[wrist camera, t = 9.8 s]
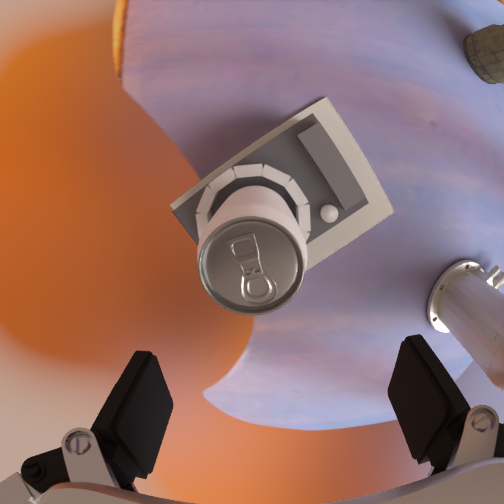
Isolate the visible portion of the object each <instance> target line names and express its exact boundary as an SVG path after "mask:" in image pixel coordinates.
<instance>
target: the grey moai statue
mask: <svg viewBox="0 0 504 504" xmlns="http://www.w3.org/2000/svg"><path fill="white" fill-rule="evenodd" d="M464 50H465V54H466V57H467V60H468V62H469V63H470V65H471V67H472V69H473V70H474V71H475V73H476V74H477V75H478V76H479V77H480V78H481V79H482V80H483V81H485V82H486V83H488V84H496V83H504V25H490V26H488V27H485V28H483V29H480V30H478V31H475V33H474V34H472V35H469V36H467V37H466V38H465V40H464Z"/></svg>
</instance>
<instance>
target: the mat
mask: <svg viewBox="0 0 504 504" xmlns="http://www.w3.org/2000/svg"><path fill="white" fill-rule="evenodd" d="M312 113H313V114H314V115H315V117H316V118H317V120H318V121H319V122H320V123H321V125H322V126H323V127H324V129H325V130H326V132H327V133H328V135H329V136H330V138H331V139H332V141H333V142H334V144H335V146H336V147H337V149H338V150H339V152H340V153H341V155H342V157H343V158H344V160H345V161H346V163H347V165H348V166H349V168H350V170H351V171H352V173H353V175H354V176H355V178H356V180H357V182H358V183H359V185H360V187H361V189H362V190H363V192H364V194H365V196H366V199H367V200H368V202H369V203H368V204H367V205H365V206H364V207H362V208H361V209H359V210H358V211H356V212H355V213H353V214H352V215H350V216H349V217H347V218H346V219H344V220H343V221H341V222H340V223H338V224H337V225H335V226H334V227H332V228H331V229H329V230H328V231H326V232H325V233H323V234H322V235H320V236H319V237H317V238H316V239H314V240H313V241H311V242H310V243H308V244H306V246H307V253H308V260H307V267H306V271H307V270H308V269H310V268H311V267H313V266H314V265H316V264H318V263H319V262H321V261H322V260H324V259H325V258H327V257H328V256H330V255H331V254H333V253H335V252H336V251H338V250H339V249H341V248H342V247H344V246H345V245H347V244H348V243H350V242H351V241H353V240H354V239H356V238H357V237H359V236H360V235H362V234H363V233H365V232H366V231H368V230H369V229H370V228H372V227H373V226H375V225H376V224H378V223H379V222H381V221H382V220H384V219H385V218H386V217H388V216H389V215H391V214H392V213H394V210H393V208H392V206H391V204H390V202H389V200H388V198H387V196H386V194H385V192H384V190H383V188H382V186H381V184H380V182H379V181H378V179H377V177H376V175H375V173H374V171H373V170H372V168H371V166H370V164H369V163H368V161H367V159H366V157H365V156H364V154H363V152H362V151H361V149H360V147H359V146H358V144H357V142H356V141H355V139H354V138H353V136H352V134H351V133H350V131H349V130H348V128H347V127H346V125H345V124H344V122H343V121H342V119H341V118H340V116H339V115H338V113H337V112H336V110H335V109H334V107H333V106H332V104H331V103H330V102H329V100H328V99H327V97H325V98H323V99H322V100H320V101H318V102H317V103H315V104H313V105H311V106H310V107H308V108H306V109H305V110H303V111H301V112H300V113H298V114H297V115H295V116H293V117H292V118H290V119H289V120H287V121H285V122H284V123H282V124H281V125H279V126H278V127H276V128H275V129H273V130H271V131H270V132H268V133H267V134H265V135H264V136H262V137H261V138H259V139H258V140H256V141H255V142H253V143H252V144H251V145H249V146H248V147H246V148H245V149H243V150H242V151H240V152H239V153H238V154H236V155H235V156H233V157H232V158H231V159H229V160H228V161H226V162H225V163H224V164H222V165H221V166H220V167H218V168H217V169H215V170H214V171H213V172H211V173H210V174H209V175H207V176H206V177H205V178H203V179H202V180H201V181H200V182H198V183H197V184H196V185H195V186H193V187H192V188H190V189H189V190H188V191H187V192H186V193H184V194H183V195H182V196H180V197H179V198H178V199H177V200H175V201H174V202H173V203H172V204H170V206H171V207H172V209H173V210H175V209H176V208H177V207H179V206H180V205H181V204H182V203H184V202H185V201H186V200H187V199H189V198H190V197H191V196H193V195H194V194H195V193H196V192H198V191H199V190H200V189H202V188H203V187H204V186H206V185H207V184H208V183H210V182H211V181H212V180H214V179H215V178H216V177H218V176H219V175H220V174H222V173H223V172H225V171H226V170H227V169H229V168H230V167H232V166H233V165H234V164H236V163H237V162H239V161H240V160H241V159H243V158H244V157H246V156H247V155H249V154H250V153H251V152H253V151H254V150H256V149H257V148H259V147H260V146H262V145H263V144H265V143H266V142H268V141H269V140H271V139H272V138H274V137H275V136H277V135H278V134H280V133H281V132H283V131H285V130H286V129H288V128H289V127H291V126H292V125H294V124H296V123H297V122H299V121H300V120H302V119H304V118H305V117H307V116H308V115H310V114H312Z"/></svg>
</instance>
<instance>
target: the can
mask: <svg viewBox="0 0 504 504" xmlns="http://www.w3.org/2000/svg"><path fill="white" fill-rule="evenodd" d="M307 260H308V253H307V246H306V241H305V238H304V236H303V233H302V231H301V229H300V227H299V225H298V223H297V221H296V219H295V217H294V216H293V214H292V212H291V210H290V209H289V207H288V205H287V203H286V202H285V200H284V199H283V198H282V197H281V196H280V195H279V194H278V193H277V192H275V191H274V190H272V189H270V188H267V187H264V186H258V185H252V186H246V187H243V188H241V189H238V190H237V191H235V192H234V193H232V194H231V195H230V196H229V197H228V198H227V199H226V201H225V202H224V203H223V204H222V205H221V207H220V208H219V209H218V211H217V212H216V213H215V214H214V216H213V217H212V218H211V220H210V221H209V222H208V224H207V225H206V227H205V229H204V230H203V232H202V235H201V237H200V240H199V244H198V250H197V261H198V270H199V276H200V280H201V283H202V285H203V287H204V289H205V290H206V292H207V293H208V295H209V296H210V297H211V298H212V299H213V300H214V301H215V302H216V303H217V304H219V305H220V306H222V307H223V308H225V309H227V310H229V311H231V312H234V313H237V314H242V315H263V314H267V313H270V312H273V311H275V310H277V309H279V308H281V307H283V306H284V305H285V304H287V303H288V302H289V301H290V300H291V299H292V298H293V297H294V296H295V294H296V293H297V292H298V290H299V288H300V286H301V284H302V281H303V278H304V274H305V271H306V267H307Z"/></svg>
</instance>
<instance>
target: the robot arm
mask: <svg viewBox="0 0 504 504" xmlns="http://www.w3.org/2000/svg"><path fill="white" fill-rule="evenodd" d="M499 272H500V269H499V267H498V266H497V265H495V266H494V267H493V268H492V269H491V271H490V272H489V273H484V270H483V268H482V267H481V266H480V265H479V264H478V263H476V262H475V261H473V260H462V261H459V262H457V263H455V264H453V265H452V266H450V267H449V268H448V269H447V270H446V271H445V272H444V273H443V274H442V275H441V277H440V278H439V279H438V281H437V282H436V284H435V286H434V288H433V290H432V292H431V294H430V297H429V301H428V307H427V316H428V319H429V322H430V323H431V325H432V326H433V327H434V328H435V329H436V330H437V331H439V332H451V333H452V334H453V335H454V336H455V338H456V339H457V340H458V341H459V342H460V343H461V345H462V346H463V347H464V348H465V349H466V351H467V352H468V353H469V354H470V355H471V357H472V358H473V359H474V360H475V361H476V363H477V364H478V365H479V366H480V368H481V369H482V370H483V372H484V373H485V374H486V375H487V377H488V378H489V379H490V381H491V382H492V383H493V384H494V386H495V387H497V388H498V389H500V390H502V391H504V294H503V293H501V292H500V291H499V290H497V289H498V288H499V287H500V286H501V285H502V284H503V283H504V273H503V272H500V273H499ZM498 273H499V274H498ZM497 274H498V275H497ZM493 278H494V279H493ZM492 279H493V280H492ZM388 397H389V399H390V402H391V404H392V406H393V409H394V411H395V414H396V416H397V419H398V421H399V424H400V426H401V428H402V431H403V433H404V436H405V439H406V442H407V444H408V447H409V450H410V452H411V455H412V457H413V458H414V459H417V462H418V464H422V463H425V462H427V461H430V463H431V466H432V467H431V469H430V471H429V474H428V476H427V478H425V479H422V480H419V481H416V482H413V483H410V484H407V485H403V486H400V487H397V488H394V489H390V490H387V491H383V492H379V493H375V494H371V495H367V496H362V497H358V498H353V499H348V500H342V501H336V502H329V503H323V504H504V423H503V424H501V423H499V418H498V415H497V413H496V411H495V410H494V409H492V408H491V407H489V406H486V405H478V406H475V407H474V408H472V409H471V408H470V406H469V404H468V403H467V401H466V399H465V398H464V396H463V395H462V393H461V392H460V390H459V388H458V387H457V385H456V384H455V382H454V381H453V379H452V378H451V376H450V375H449V373H448V372H447V370H446V369H445V367H444V366H443V364H442V363H441V362H440V360H439V359H438V357H437V356H436V355H435V353H434V352H433V350H432V349H431V348H430V346H429V345H428V343H427V342H426V341H425V339H424V338H423V337H422V335H420V334H418V335H413V336H408V337H406V338H405V341H402V343H401V346H400V350H399V353H398V357H397V361H396V364H395V368H394V371H393V374H392V378H391V381H390V384H389V387H388ZM172 409H173V400H172V398H171V395H170V392H169V390H168V387H167V384H166V382H165V380H164V377H163V374H162V371H161V368H160V365H159V362H158V360H157V357H156V356H155V355H153V354H152V353H151V352H150V351H136V352H135V353H134V355H133V356H132V358H131V360H130V361H129V363H128V365H127V366H126V368H125V370H124V372H123V373H122V375H121V377H120V378H119V380H118V382H117V383H116V384H115V386H114V388H113V389H112V391H111V393H110V395H109V396H108V398H107V400H106V402H105V404H104V405H103V407H102V409H101V411H100V412H99V414H98V416H97V418H96V420H95V422H94V423H93V425H92V427H91V429H90V430H88V429H86V428H75V429H72V430H70V431H69V432H67V433H66V434H65V436H64V437H63V440H62V442H61V443H62V447H60V448H57V449H54V450H51V451H48V452H45V453H42V454H39V455H36V456H33V457H30V458H28V459H27V460H26V461H24V463H23V465H22V468H21V473H20V474H19V473H18V472H16V473H14V474H13V475H12V476H10V477H8V478H7V479H5V480H4V481H2V482H1V483H0V504H194V503H187V502H181V501H174V500H169V499H164V498H158V497H153V496H148V495H144V494H140V493H138V491H137V489H136V487H135V485H134V483H133V482H134V479H135V477H139V478H143V479H146V478H147V475H148V473H149V474H150V473H151V472H152V471H153V468H154V465H155V462H156V459H157V456H158V452H159V449H160V446H161V443H162V440H163V437H164V434H165V431H166V428H167V425H168V421H169V419H170V416H171V413H172Z"/></svg>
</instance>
